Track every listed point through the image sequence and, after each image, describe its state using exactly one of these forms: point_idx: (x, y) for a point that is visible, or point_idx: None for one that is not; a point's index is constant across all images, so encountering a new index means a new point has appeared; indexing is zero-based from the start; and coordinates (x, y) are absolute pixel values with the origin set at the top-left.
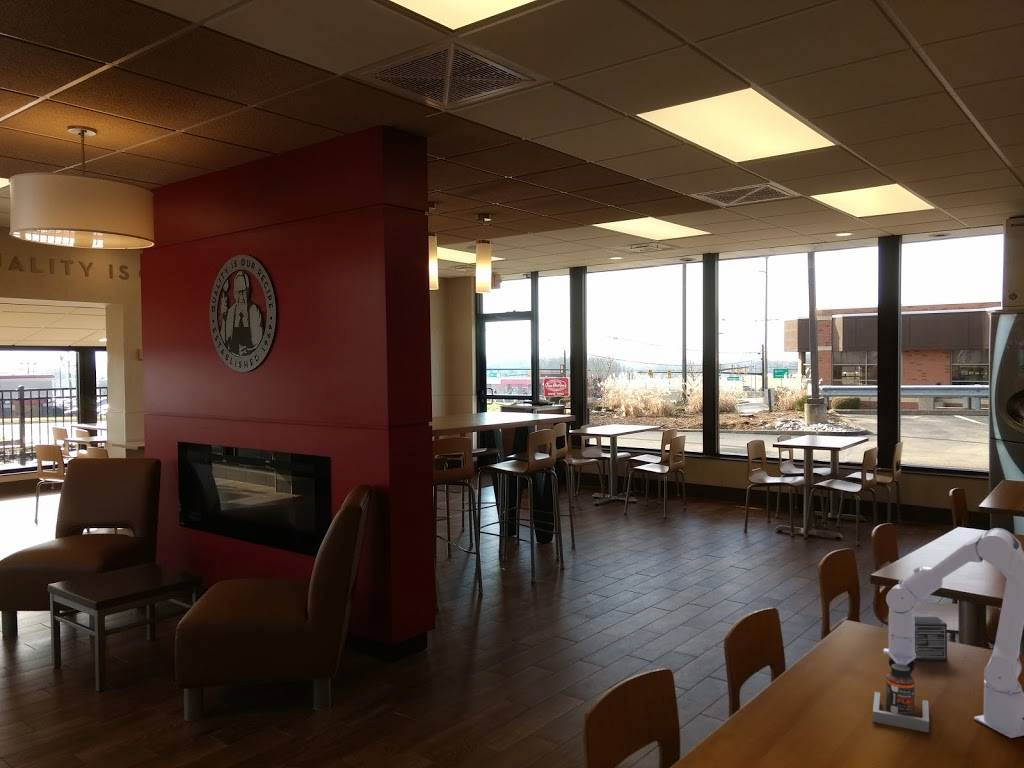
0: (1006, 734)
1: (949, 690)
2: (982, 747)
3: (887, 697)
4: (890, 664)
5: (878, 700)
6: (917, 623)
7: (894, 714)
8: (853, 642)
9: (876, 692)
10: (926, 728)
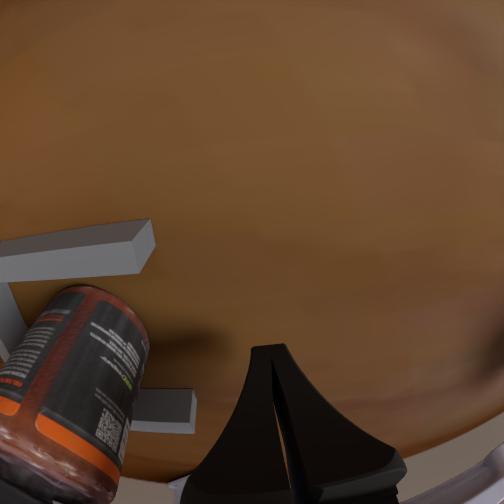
0: (170, 484)
1: (398, 407)
2: None
3: (25, 334)
4: (183, 496)
5: (38, 275)
6: None
7: None
8: None
9: (127, 251)
10: None
